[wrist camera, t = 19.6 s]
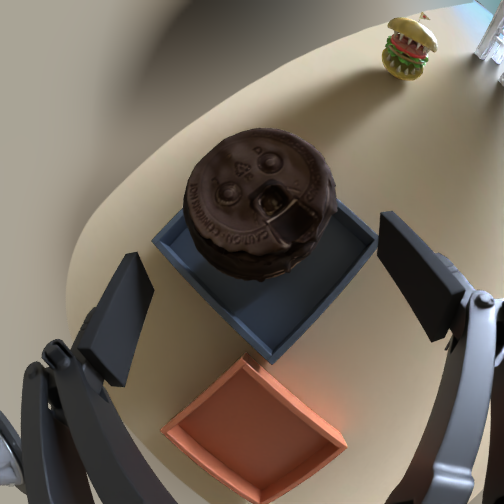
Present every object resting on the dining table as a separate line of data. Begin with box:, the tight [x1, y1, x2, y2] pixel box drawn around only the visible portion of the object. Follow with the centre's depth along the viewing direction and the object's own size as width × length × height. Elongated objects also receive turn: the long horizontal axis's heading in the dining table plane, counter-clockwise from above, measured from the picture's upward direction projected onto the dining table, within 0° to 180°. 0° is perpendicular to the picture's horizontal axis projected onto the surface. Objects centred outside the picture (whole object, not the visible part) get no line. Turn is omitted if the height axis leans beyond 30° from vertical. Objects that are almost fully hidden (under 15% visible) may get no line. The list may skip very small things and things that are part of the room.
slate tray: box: [152, 198, 379, 365], centre depth 24 cm, size 15×14×3 cm
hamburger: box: [382, 12, 437, 81], centre depth 24 cm, size 8×7×12 cm
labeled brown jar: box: [183, 128, 338, 282], centre depth 19 cm, size 9×8×13 cm
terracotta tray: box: [160, 352, 348, 504], centre depth 21 cm, size 13×11×3 cm
